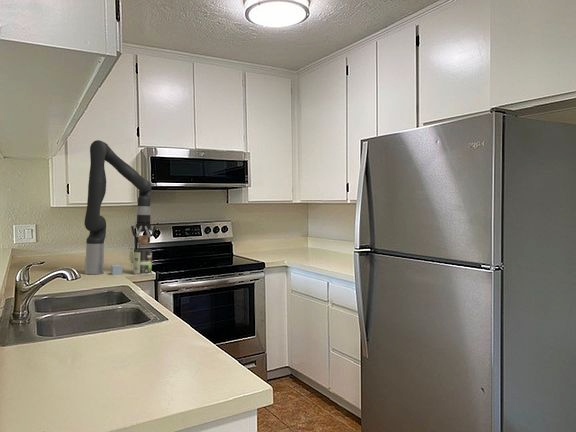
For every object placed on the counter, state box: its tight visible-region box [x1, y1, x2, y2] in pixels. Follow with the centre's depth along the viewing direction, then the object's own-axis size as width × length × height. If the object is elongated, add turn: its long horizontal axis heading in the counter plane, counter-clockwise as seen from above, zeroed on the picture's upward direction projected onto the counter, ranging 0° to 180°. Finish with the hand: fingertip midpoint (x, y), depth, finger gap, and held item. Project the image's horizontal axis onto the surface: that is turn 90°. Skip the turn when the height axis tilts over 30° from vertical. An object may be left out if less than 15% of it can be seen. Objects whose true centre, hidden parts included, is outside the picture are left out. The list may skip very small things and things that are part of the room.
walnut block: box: [138, 234, 149, 246], centre depth 249 cm, size 5×5×5 cm
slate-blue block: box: [110, 264, 123, 276], centre depth 245 cm, size 5×5×5 cm
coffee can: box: [132, 248, 153, 276], centre depth 249 cm, size 10×10×14 cm
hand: (143, 243), depth 249 cm, fingers closed on walnut block, 5 cm apart
